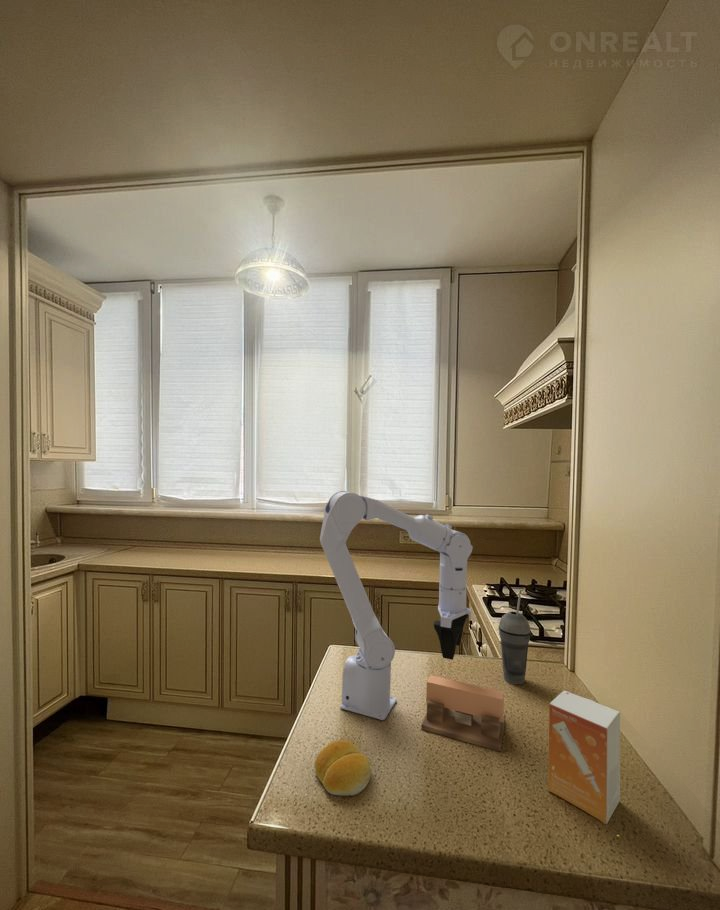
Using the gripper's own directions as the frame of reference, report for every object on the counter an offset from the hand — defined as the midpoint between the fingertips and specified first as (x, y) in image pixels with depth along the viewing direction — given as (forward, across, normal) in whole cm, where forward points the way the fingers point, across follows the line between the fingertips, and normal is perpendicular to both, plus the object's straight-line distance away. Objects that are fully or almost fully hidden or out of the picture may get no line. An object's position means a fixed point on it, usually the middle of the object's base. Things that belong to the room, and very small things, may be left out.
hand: (451, 651), depth 86 cm
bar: (+7, -8, -4) cm, 11 cm away
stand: (+10, -8, -4) cm, 13 cm away
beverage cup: (+10, +15, -12) cm, 22 cm away
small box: (+10, -18, -23) cm, 31 cm away
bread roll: (+10, -30, +11) cm, 33 cm away
